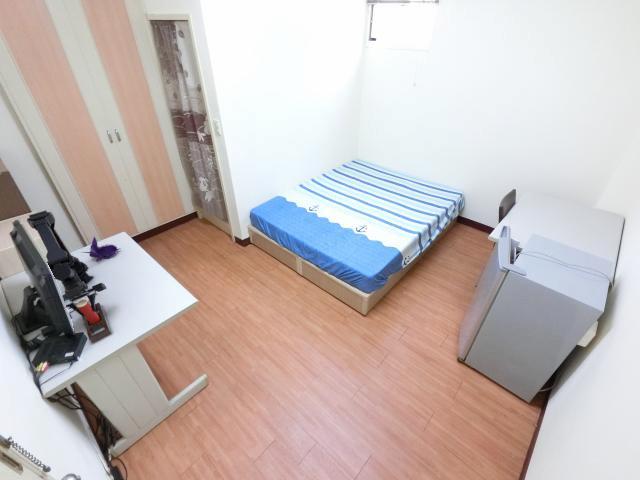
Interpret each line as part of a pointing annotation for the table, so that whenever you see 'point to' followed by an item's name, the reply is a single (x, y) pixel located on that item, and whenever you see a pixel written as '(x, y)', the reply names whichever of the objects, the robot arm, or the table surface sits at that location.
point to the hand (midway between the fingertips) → (89, 314)
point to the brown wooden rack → (97, 325)
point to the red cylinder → (88, 311)
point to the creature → (101, 250)
